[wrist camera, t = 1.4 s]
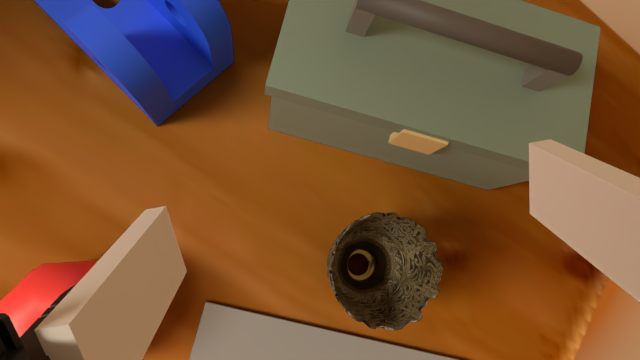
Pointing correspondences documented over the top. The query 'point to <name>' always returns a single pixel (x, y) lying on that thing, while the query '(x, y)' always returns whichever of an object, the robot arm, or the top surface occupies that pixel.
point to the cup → (385, 270)
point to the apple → (41, 291)
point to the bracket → (151, 46)
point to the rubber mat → (285, 340)
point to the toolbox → (434, 82)
